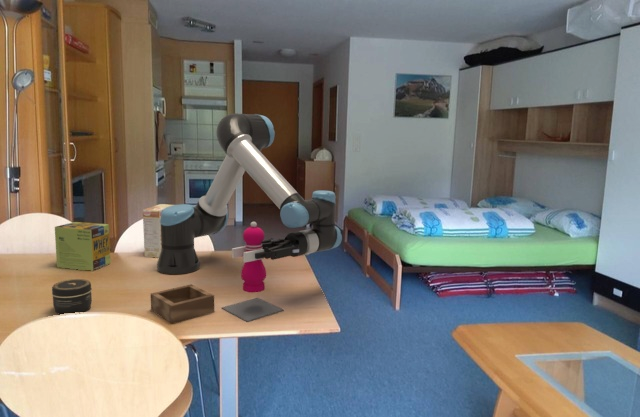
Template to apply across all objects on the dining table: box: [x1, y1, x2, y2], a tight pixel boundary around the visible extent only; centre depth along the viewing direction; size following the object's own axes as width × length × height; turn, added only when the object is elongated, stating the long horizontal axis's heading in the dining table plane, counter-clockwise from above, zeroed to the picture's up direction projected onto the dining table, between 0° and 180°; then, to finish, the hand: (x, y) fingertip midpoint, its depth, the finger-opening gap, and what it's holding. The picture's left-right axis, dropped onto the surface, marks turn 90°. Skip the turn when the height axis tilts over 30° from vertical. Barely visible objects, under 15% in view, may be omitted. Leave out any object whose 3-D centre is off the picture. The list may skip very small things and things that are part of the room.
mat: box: [221, 297, 285, 323], centre depth 142 cm, size 13×13×1 cm
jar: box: [51, 278, 93, 315], centre depth 138 cm, size 10×10×8 cm
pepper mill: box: [240, 221, 267, 294], centre depth 139 cm, size 7×7×20 cm
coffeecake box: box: [142, 203, 174, 259], centre depth 200 cm, size 15×7×20 cm, turn 171°
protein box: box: [54, 221, 112, 272], centre depth 179 cm, size 10×15×16 cm
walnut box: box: [150, 283, 215, 325], centre depth 139 cm, size 13×13×5 cm
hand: (238, 255), depth 135 cm, fingers closed on pepper mill, 5 cm apart
